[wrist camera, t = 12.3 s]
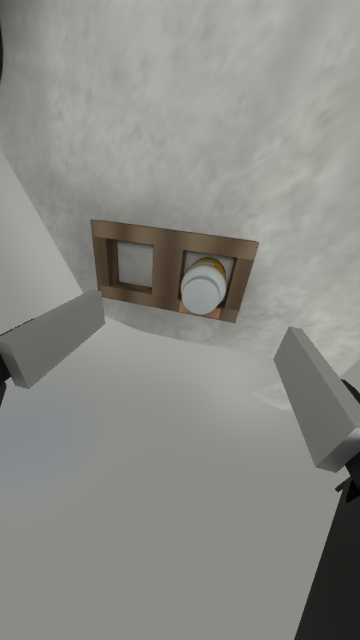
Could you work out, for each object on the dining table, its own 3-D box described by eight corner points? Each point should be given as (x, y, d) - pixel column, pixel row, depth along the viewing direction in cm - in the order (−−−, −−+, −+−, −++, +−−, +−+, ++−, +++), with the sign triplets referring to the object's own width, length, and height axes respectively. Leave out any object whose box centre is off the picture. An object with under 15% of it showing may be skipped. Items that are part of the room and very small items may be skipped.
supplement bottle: (224, 292, 28) (224, 322, 19) (189, 291, 29) (176, 319, 21) (227, 256, 25) (229, 272, 17) (189, 256, 26) (173, 271, 18)
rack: (109, 290, 32) (98, 296, 29) (103, 220, 27) (89, 219, 24) (234, 314, 29) (235, 323, 26) (255, 241, 24) (259, 242, 21)
